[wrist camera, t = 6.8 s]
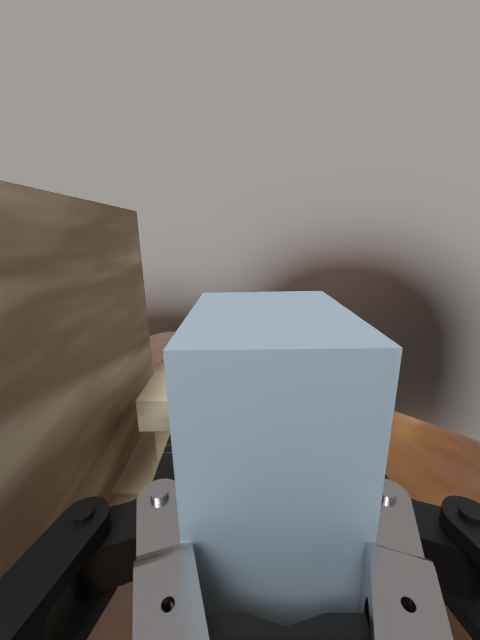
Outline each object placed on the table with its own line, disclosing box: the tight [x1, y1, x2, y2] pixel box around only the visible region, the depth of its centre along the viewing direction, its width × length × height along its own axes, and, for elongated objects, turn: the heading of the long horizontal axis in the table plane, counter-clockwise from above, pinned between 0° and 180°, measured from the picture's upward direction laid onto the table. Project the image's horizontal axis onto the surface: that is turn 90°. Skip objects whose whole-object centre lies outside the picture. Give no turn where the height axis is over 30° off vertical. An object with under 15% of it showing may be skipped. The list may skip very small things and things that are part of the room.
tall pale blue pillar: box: [163, 291, 402, 625], centre depth 10 cm, size 4×6×14 cm
